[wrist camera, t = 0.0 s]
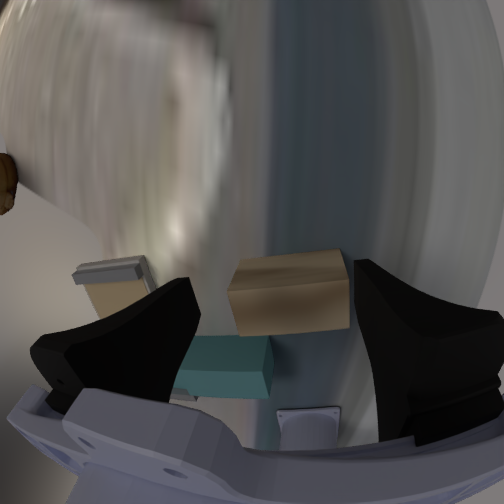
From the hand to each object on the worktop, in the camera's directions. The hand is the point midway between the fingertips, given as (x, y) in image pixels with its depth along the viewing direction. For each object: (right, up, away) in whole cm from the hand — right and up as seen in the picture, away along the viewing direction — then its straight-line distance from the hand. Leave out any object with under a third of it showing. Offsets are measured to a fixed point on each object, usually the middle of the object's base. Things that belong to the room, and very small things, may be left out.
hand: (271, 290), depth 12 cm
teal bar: (-3, -8, +16) cm, 18 cm away
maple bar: (+3, 0, +11) cm, 11 cm away
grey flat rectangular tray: (-13, -8, +17) cm, 23 cm away
